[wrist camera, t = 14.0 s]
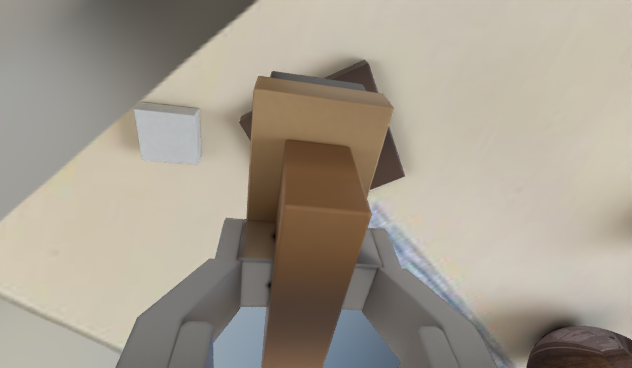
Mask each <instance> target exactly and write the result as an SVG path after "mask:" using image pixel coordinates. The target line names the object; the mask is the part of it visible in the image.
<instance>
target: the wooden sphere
mask: <svg viewBox="0 0 632 368" xmlns="http://www.w3.org/2000/svg"><path fill="white" fill-rule="evenodd" d="M527 368H632V340H631V339H629V338H627V337H625V336H622V335H620V334H617V333H615V332H612V331H609V330H605V329H601V328H596V327H588V326H572V327H566V328H561V329H558V330H555V331H553V332H551V333H549V334H547V335H546V336H544V337H543V338H542V339H541V340H540V341H539V342H538V343H537V344H536V345H535V347H534V348H533V350H532V351H531V353H530V356H529V359H528V362H527Z"/></svg>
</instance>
